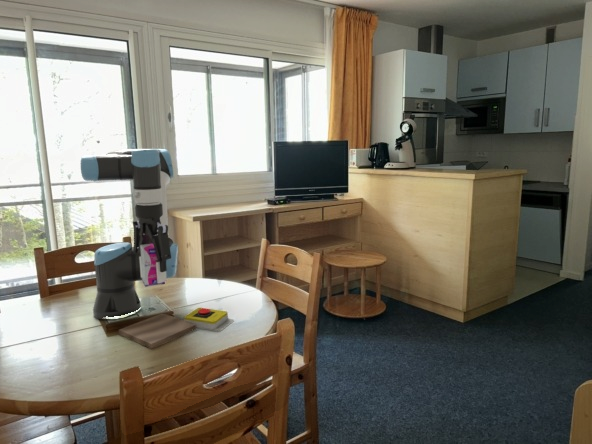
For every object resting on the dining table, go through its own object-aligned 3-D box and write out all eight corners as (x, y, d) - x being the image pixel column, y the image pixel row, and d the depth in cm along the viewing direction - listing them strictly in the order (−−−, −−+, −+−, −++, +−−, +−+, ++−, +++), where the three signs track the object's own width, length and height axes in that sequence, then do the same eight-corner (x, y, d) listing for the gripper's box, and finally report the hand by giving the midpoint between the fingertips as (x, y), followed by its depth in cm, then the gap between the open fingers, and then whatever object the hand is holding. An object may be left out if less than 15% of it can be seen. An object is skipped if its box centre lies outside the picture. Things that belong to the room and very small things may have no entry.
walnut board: (119, 334, 130) (118, 329, 129) (163, 317, 142) (163, 313, 142) (151, 348, 120) (151, 343, 120) (195, 329, 133) (195, 324, 133)
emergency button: (195, 303, 145) (234, 308, 139) (195, 315, 145) (235, 321, 140) (178, 313, 136) (220, 319, 131) (179, 326, 137) (220, 333, 132)
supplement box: (145, 287, 124) (142, 248, 122) (142, 281, 130) (139, 244, 127) (165, 284, 127) (163, 246, 125) (162, 278, 132) (159, 242, 130)
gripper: (116, 201, 127) (122, 276, 131) (159, 208, 115) (164, 289, 119) (139, 198, 133) (144, 270, 137) (181, 204, 121) (185, 282, 125)
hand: (153, 279), depth 128 cm, fingers closed on supplement box, 7 cm apart
